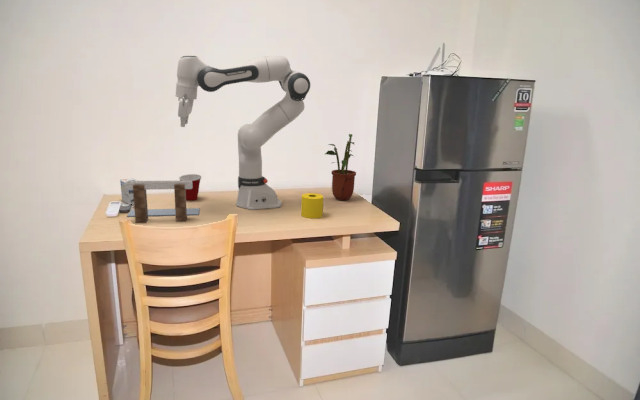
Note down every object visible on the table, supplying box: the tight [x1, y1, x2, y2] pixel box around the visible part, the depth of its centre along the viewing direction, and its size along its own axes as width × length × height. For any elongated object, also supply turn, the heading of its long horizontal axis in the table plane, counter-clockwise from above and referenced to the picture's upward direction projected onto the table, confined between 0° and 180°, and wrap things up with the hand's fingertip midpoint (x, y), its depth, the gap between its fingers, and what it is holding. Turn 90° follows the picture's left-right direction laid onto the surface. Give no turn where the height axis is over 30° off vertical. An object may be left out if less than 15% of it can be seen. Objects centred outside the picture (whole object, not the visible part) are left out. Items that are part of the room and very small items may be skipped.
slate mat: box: [126, 207, 201, 218], centre depth 189 cm, size 30×9×1 cm, turn 103°
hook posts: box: [133, 185, 188, 224], centre depth 177 cm, size 20×6×16 cm, turn 103°
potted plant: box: [324, 133, 357, 201], centre depth 219 cm, size 17×16×35 cm
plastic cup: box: [178, 173, 202, 202], centre depth 210 cm, size 11×11×12 cm
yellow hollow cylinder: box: [300, 192, 324, 220], centre depth 194 cm, size 10×10×9 cm
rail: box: [125, 180, 193, 191], centre depth 175 cm, size 26×3×3 cm, turn 103°
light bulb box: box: [119, 177, 139, 206], centre depth 201 cm, size 11×7×11 cm, turn 44°
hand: (184, 125), depth 187 cm, fingers open, 8 cm apart
